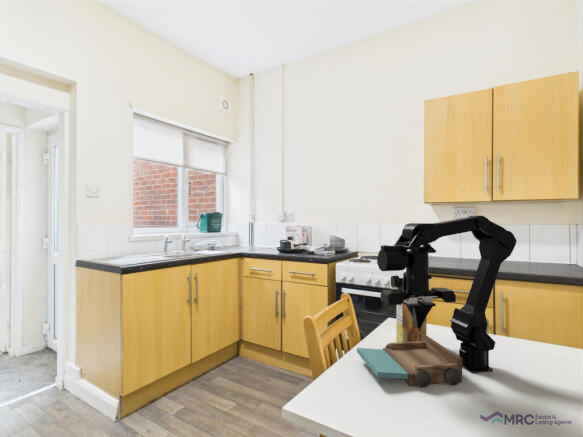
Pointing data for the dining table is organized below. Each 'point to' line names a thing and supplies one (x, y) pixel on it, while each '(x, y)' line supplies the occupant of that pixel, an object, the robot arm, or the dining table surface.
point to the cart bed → (426, 362)
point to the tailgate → (382, 363)
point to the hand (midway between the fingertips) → (418, 328)
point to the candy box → (408, 326)
